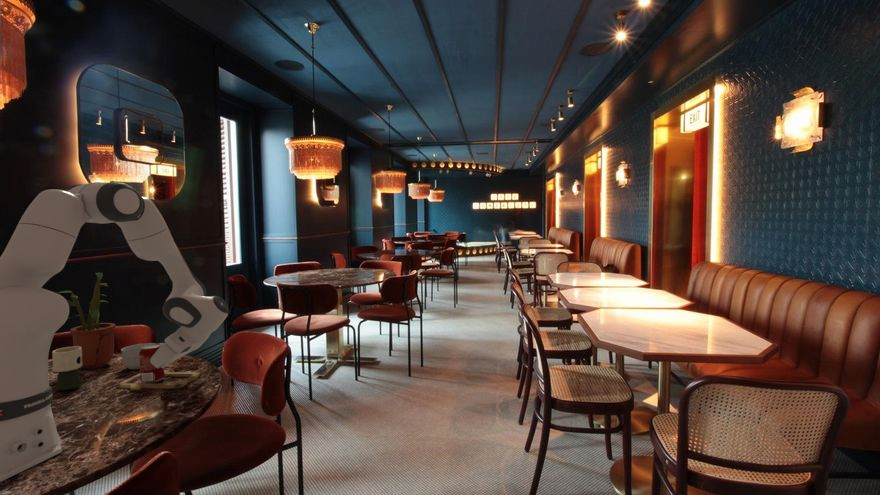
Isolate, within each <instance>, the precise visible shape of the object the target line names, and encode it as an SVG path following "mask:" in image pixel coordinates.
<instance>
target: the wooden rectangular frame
mask: <svg viewBox="0 0 880 495" xmlns="http://www.w3.org/2000/svg"><path fill="white" fill-rule="evenodd" d="M164 372H165V377H169V378H170V377H171V378H173V377H175V378H176V377H178V378H179V377H181V378H182V377H184V378H185V379H183V380H181V381H180V382H177V383H143V382H135V381H137V380H140V379H141V377H140V372H139V373H138V374H136V375H133V376H131V377H129V378H127V379H125V380H123V381H121V382H118V383H116V384H115V388H116V389H130V391H140V390H143V389H176V390H177V389H181V388H182V387H184V386H186V385H188V384H190V383H191V382H193V381H194V380H196V379H198V378H200V377H201V376H202V373H201V372H200V371H199V372H191V371H190V372H188V371H187V372H185V371H184V372H183V371H180V372H179V371H177V372H175V371H173V372H172V371H171V370H170V369H167V370H166V369H164ZM200 375H201V376H200ZM165 377H164V378H165ZM134 382H135V383H134Z"/></svg>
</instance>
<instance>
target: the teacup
mask: <svg viewBox="0 0 880 495" xmlns="http://www.w3.org/2000/svg"><path fill="white" fill-rule="evenodd" d="M164 343H165V342H164ZM164 343H163V342H159V344H161V346H162V345H163V344H164ZM149 344H156V343H155V342H146V343H137V344H132V345H129V346H124V347H123V348H121V349H120V351H121V358H122V365H123V366H124V367H125V368H127V369H129V370H131V371H132V370H140V361H139V352H140V351H141V347H142V346H145V345H149Z"/></svg>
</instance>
